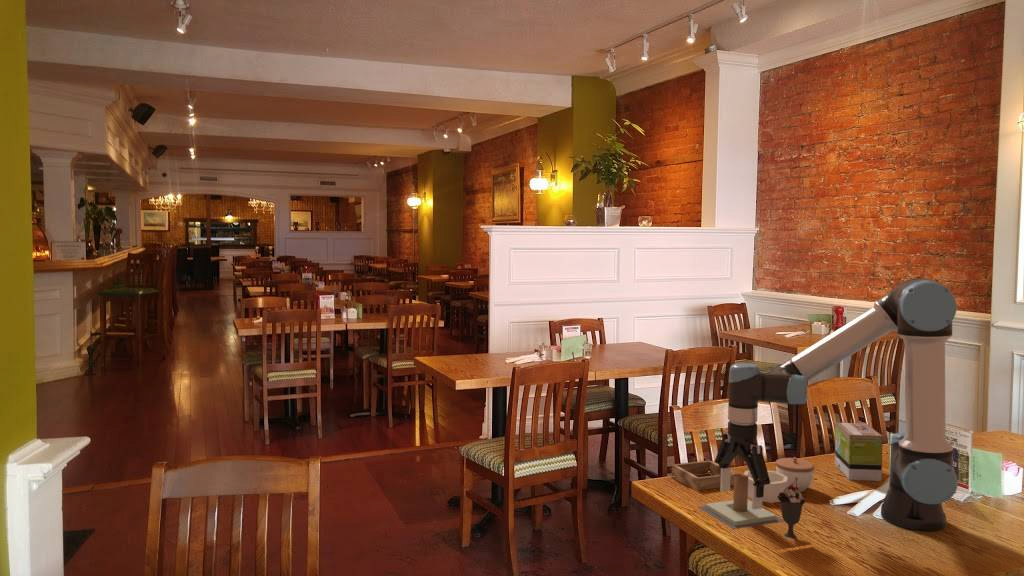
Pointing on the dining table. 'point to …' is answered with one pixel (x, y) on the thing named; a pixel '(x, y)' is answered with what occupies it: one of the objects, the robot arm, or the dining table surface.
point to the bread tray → (689, 470)
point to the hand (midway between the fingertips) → (740, 499)
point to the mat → (739, 525)
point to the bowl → (770, 486)
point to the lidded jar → (796, 471)
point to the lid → (740, 506)
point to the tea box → (858, 451)
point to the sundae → (791, 507)
